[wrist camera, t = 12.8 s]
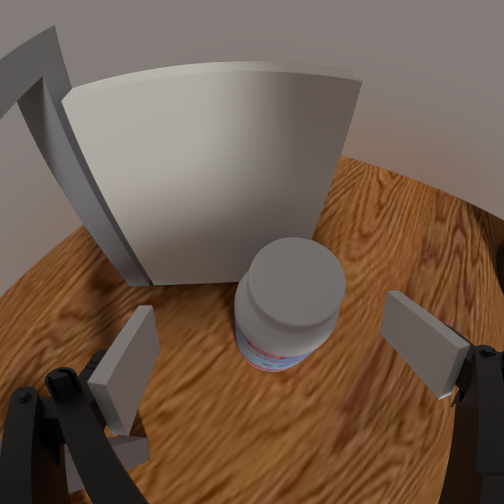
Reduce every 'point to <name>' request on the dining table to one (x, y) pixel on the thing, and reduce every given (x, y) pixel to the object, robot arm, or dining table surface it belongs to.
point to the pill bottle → (287, 303)
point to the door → (213, 158)
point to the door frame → (68, 179)
